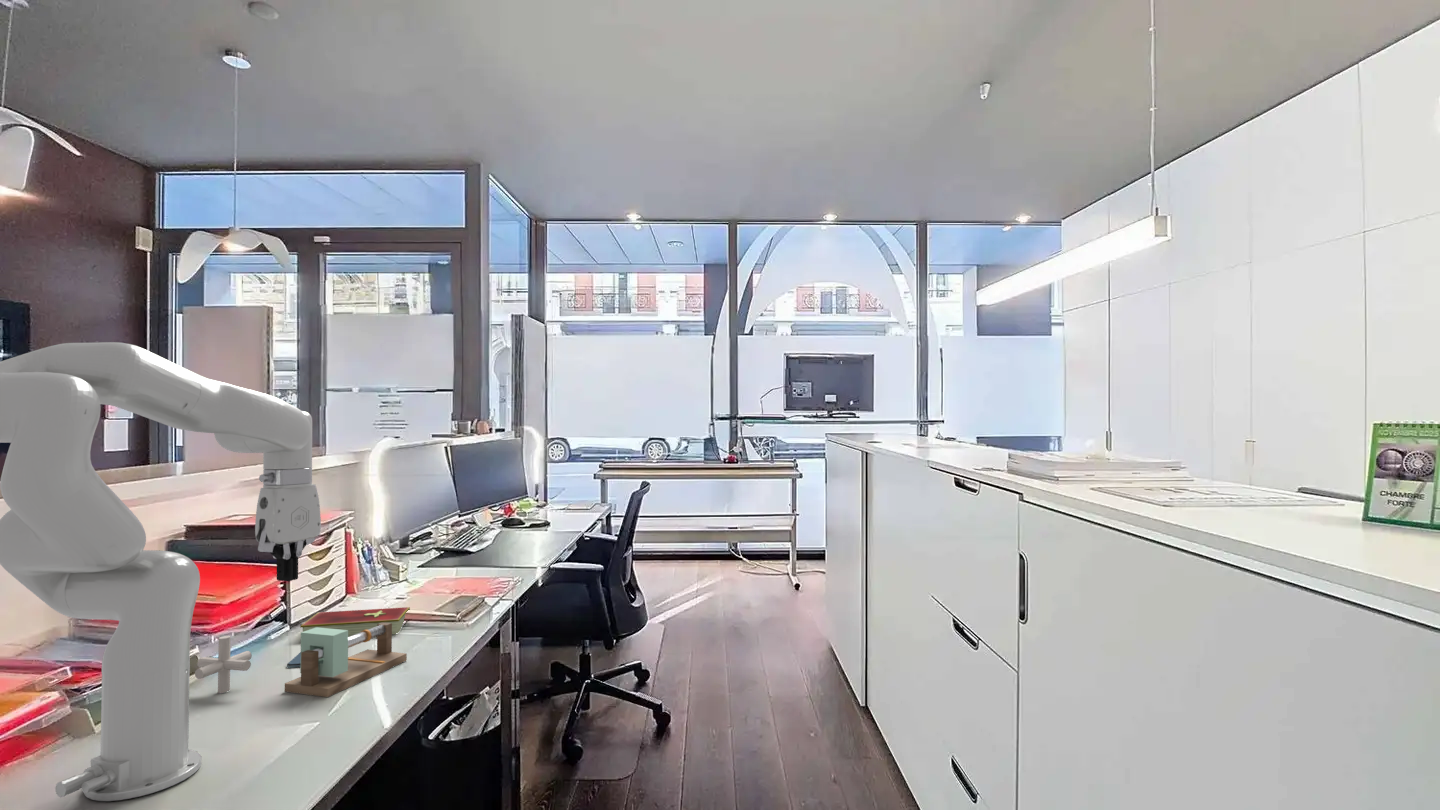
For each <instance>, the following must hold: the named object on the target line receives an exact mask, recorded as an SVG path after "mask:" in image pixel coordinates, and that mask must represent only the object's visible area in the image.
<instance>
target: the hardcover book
mask: <svg viewBox="0 0 1440 810" xmlns="http://www.w3.org/2000/svg"><path fill="white" fill-rule="evenodd" d="M408 610H410V611H411V607H410V606H406V607H405V606H404V607H389V608H374V609H372V608H371V609H369V608H368V609H355V610H353V609H352V610H338V611H336V610H335V611H323V612H322V611H321V612H317V613H315V614H313V616H311V617H310V618H309V619H307V620H305V622H303V623H302V624H301V625H300V627H299V628H302V632H304V631H307V630H310V629H313V628H316V627H319V628H329V629H339V630H348V637H350V636H352V635H355V634H358V633H360V632H361V631H363V630H368V629H371V628H374V627H376V626H377V624H380V623H382V622H384V623H392V634H393V635H397V634H396V633H398V632H399V631H400V632H401V630H402V629H401V627H402V624H403V622H404V618H405V614H406V612H407V611H408ZM400 629H401V630H400ZM400 632H399V633H400ZM399 633H398V634H399Z"/></svg>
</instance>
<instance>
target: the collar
mask: <svg viewBox="0 0 1440 810" xmlns="http://www.w3.org/2000/svg"><path fill="white" fill-rule="evenodd" d="M320 647H324V656H323V658H322V659H319V660H318V675H319V676H327V677H334V676H337V675H339V674H341V673H344V672H346V671H348V657H349V648H348V630H339V629H329V628H319V627H316V628H313V629H310V630H307V631H304V632H303V631H301V632H300V652H304V651H307V650H315V649H318V648H320ZM299 671H300V672H299V673H300V674H301V662H300V668H299Z"/></svg>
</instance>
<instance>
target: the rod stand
mask: <svg viewBox="0 0 1440 810" xmlns="http://www.w3.org/2000/svg"><path fill="white" fill-rule="evenodd" d="M375 638H376V649H370V648H369V649H364V650H363V651H361V652H358V653H355V654H353V655H351V656H348V671H346V672H344V673H341V674H339V675H337V676H334V677H327V676H319V675H318V660H319V659H322V658H323V656H324V647H320V648H318V649H315V650H307V651H304V652H301V651H300V652H301V673H300V676H299V677H297V678H294V679H293V680H290V681H289V680H288V681H287V682H285V683H284V693H285V692H286V693H293V694H299V695H300V694H302V695H308V696H315V697H316V696H317V697H322V698H329V697H332V696H334V695H335V694H338V693H340V692H342V691H344V690H346V689H349V688H351V687H353V686H355V685H357V684H360V683H361V682H364V681H366V680H368V679H371V678H372V677H375V676H377V675H378V674H381V673H383V672H385V671H388V670H389V669H392V668H394V667H396V666H398V665H401V664H403V663H405V662H407V661H408V660H407V656H408V654H407V653H405V652H396V651H392V650H393V648H392V647H393V644H392V643H393V642H392V641H393V640H392V639H393V635H392V623H384V622H382V623H380V624H377V626H376V627H374V628H371V629H368V630H363V631H361V632H360V633H358V634H355V635H352V636H350V637H348V649H350V648H351V647H354V646H356V645H359V644H362V643H368V642H370V641H371V640H372V639H375ZM406 660H407V661H406ZM404 661H405V662H404ZM402 662H403V663H402ZM400 663H401V664H400ZM393 666H394V667H393Z"/></svg>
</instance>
